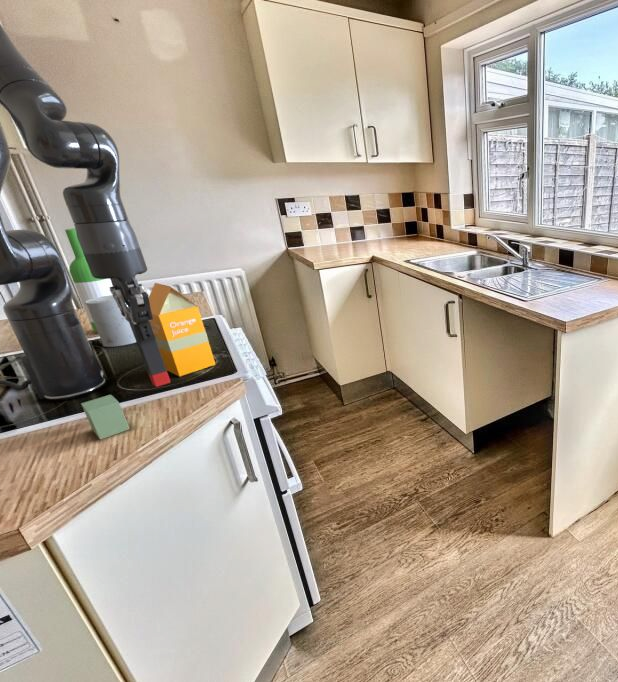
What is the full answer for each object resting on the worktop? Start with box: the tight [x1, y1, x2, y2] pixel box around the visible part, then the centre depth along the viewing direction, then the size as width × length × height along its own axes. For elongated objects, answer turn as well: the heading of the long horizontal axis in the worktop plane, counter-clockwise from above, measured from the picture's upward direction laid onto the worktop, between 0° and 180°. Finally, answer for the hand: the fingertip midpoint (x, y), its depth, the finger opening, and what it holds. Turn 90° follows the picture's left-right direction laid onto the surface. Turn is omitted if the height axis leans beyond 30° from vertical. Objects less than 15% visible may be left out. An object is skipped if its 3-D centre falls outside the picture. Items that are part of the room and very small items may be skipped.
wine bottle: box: [64, 228, 113, 333], centre depth 124 cm, size 8×8×30 cm
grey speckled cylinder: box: [85, 295, 137, 348], centre depth 117 cm, size 10×10×12 cm
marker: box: [127, 313, 171, 388], centre depth 81 cm, size 14×2×2 cm
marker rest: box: [80, 394, 131, 440], centre depth 74 cm, size 4×5×6 cm
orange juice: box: [148, 282, 216, 377], centre depth 97 cm, size 8×9×20 cm
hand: (145, 339), depth 80 cm, fingers closed on marker, 2 cm apart
